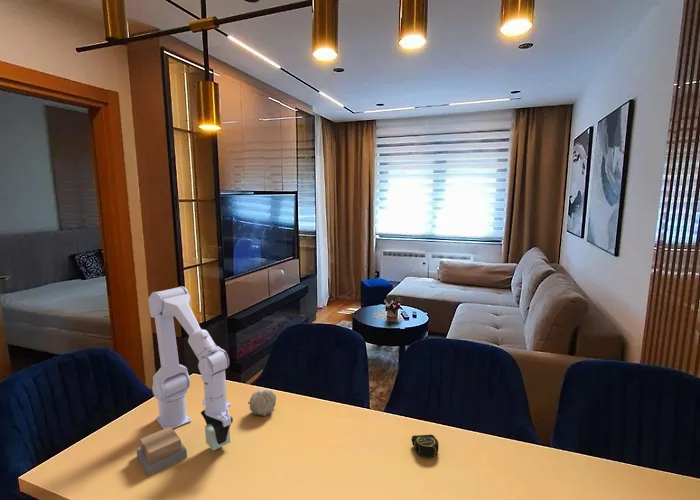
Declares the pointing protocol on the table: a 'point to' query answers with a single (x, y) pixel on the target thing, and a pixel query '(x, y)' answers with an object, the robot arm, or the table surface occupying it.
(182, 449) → the tower base
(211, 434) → the green cube
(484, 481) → the table surface
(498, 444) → the table surface
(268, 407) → the garlic bulb
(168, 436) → the tower top
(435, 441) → the tape measure
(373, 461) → the table surface
